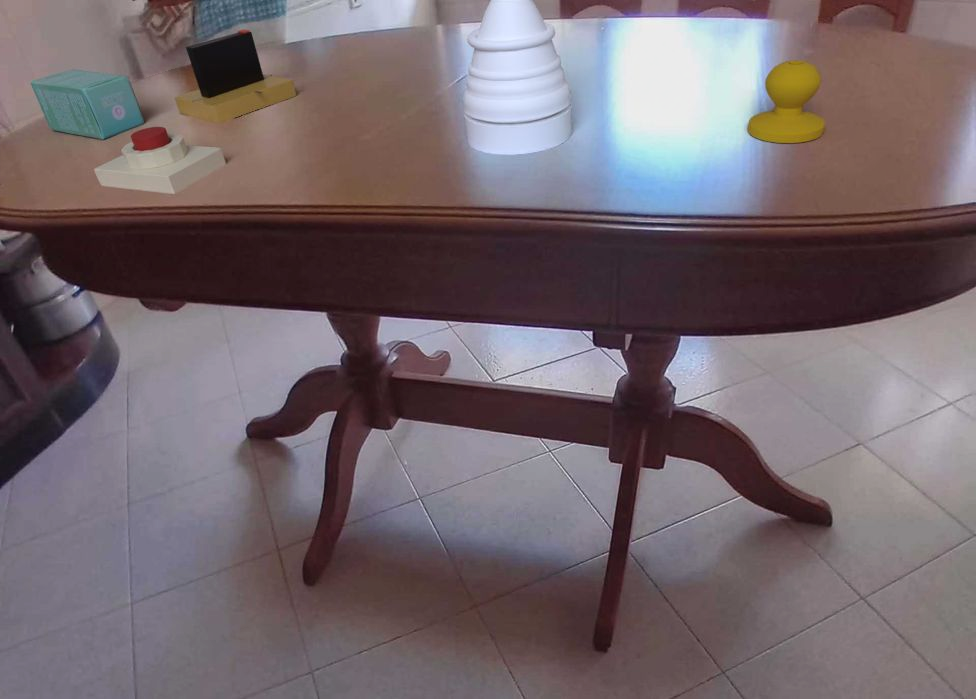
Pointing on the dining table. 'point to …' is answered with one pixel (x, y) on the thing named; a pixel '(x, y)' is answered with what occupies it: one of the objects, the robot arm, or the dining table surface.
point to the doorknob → (789, 105)
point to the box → (88, 103)
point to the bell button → (150, 138)
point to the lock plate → (236, 100)
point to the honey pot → (515, 83)
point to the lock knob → (225, 63)
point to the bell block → (161, 167)
